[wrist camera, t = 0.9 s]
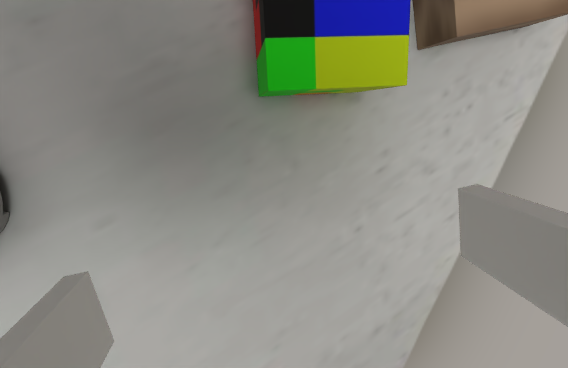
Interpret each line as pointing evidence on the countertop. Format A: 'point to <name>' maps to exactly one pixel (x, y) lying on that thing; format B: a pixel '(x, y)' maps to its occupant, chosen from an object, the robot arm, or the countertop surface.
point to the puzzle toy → (330, 45)
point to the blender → (3, 215)
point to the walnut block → (478, 18)
